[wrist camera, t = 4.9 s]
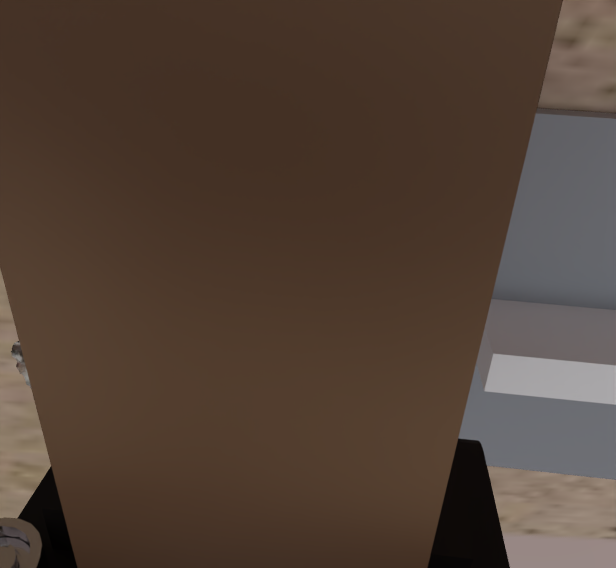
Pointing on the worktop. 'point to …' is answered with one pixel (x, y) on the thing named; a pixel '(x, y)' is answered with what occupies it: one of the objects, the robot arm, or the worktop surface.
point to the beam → (258, 262)
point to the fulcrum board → (556, 273)
